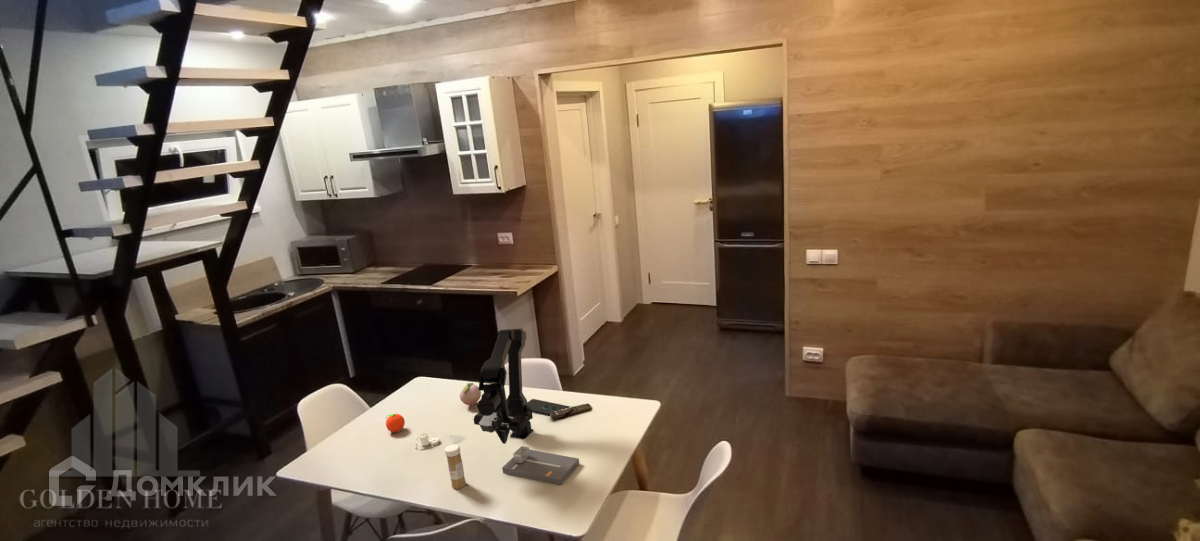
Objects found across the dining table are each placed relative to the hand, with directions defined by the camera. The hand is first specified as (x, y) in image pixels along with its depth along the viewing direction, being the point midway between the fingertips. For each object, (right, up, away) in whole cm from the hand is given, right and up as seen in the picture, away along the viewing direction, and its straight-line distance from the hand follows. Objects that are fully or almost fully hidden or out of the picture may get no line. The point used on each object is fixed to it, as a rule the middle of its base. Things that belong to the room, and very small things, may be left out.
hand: (504, 443), depth 193 cm
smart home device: (+11, +2, +36) cm, 37 cm away
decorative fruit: (-21, +2, +46) cm, 51 cm away
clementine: (-47, -5, +32) cm, 57 cm away
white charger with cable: (-30, -7, +16) cm, 35 cm away
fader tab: (+6, -5, -2) cm, 8 cm away
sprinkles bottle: (-13, -11, -9) cm, 19 cm away
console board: (+13, -7, -5) cm, 15 cm away
